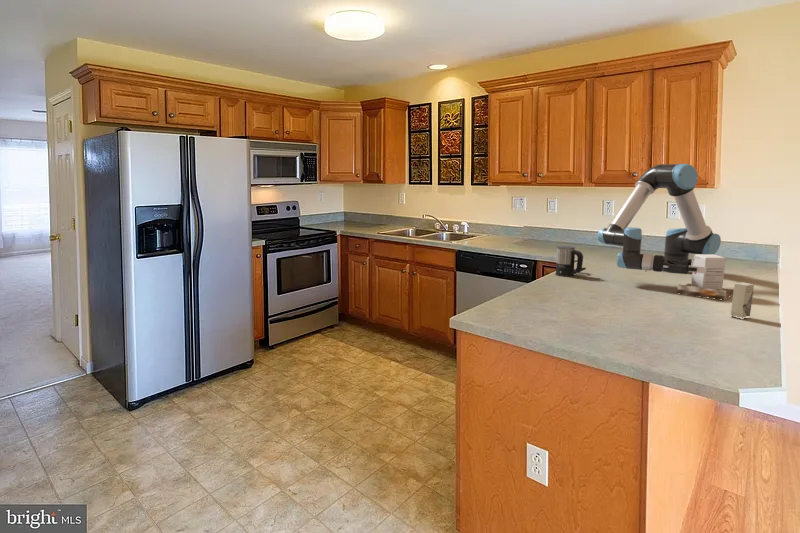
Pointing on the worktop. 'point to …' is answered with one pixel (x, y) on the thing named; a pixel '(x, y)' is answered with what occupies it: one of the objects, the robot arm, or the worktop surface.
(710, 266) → the supplement box
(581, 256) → the milk frother
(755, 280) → the worktop surface
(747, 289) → the box
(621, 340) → the worktop surface
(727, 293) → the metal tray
